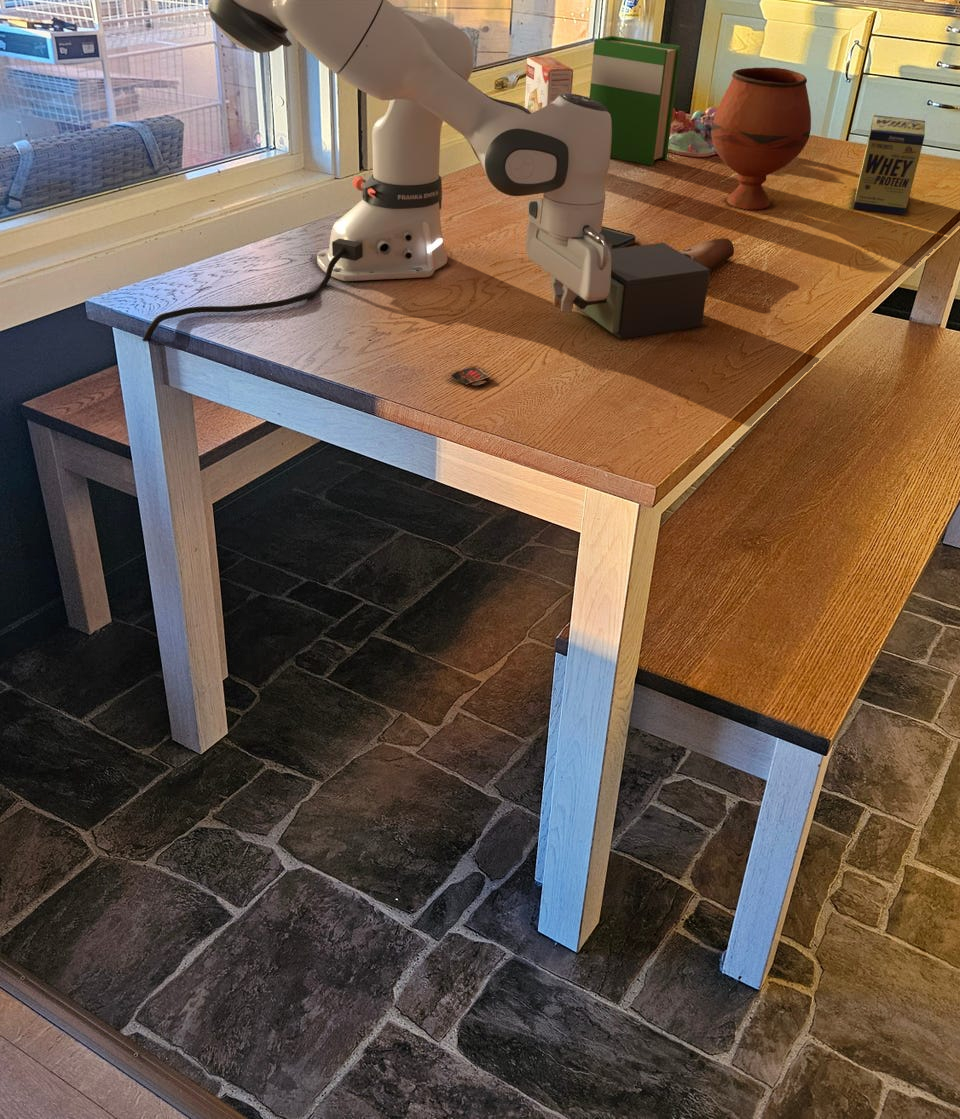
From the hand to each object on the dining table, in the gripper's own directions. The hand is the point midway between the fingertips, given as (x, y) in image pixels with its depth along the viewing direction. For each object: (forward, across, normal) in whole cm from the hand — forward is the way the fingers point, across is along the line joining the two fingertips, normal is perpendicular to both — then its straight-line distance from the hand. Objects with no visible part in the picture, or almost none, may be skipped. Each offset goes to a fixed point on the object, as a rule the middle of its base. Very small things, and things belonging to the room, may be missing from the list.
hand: (562, 308), depth 164 cm
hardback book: (+2, +87, -63) cm, 107 cm away
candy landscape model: (+1, +89, -87) cm, 124 cm away
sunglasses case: (+3, +16, -34) cm, 38 cm away
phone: (+3, +37, -26) cm, 45 cm away
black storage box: (+3, 0, -14) cm, 15 cm away
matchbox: (+4, -11, +20) cm, 23 cm away
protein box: (+1, +38, -96) cm, 103 cm away
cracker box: (+3, +87, -41) cm, 97 cm away
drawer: (+2, 0, -10) cm, 10 cm away
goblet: (+2, +46, -68) cm, 82 cm away
